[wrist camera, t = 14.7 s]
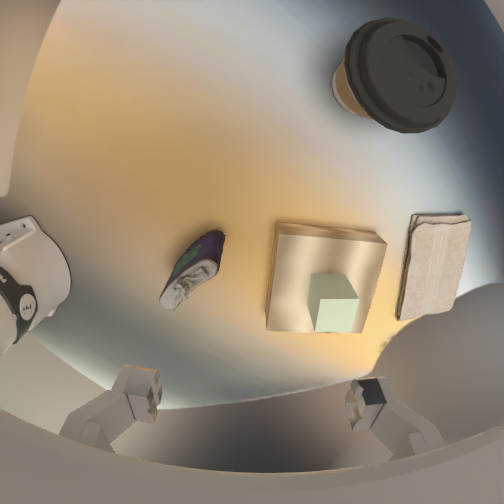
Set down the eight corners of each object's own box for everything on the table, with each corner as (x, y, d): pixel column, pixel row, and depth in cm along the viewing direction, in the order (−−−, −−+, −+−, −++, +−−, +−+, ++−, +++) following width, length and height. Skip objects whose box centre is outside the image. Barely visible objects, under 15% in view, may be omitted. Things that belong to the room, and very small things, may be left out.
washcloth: (464, 209, 38) (476, 215, 35) (447, 305, 45) (455, 315, 42) (405, 212, 39) (415, 218, 36) (392, 315, 46) (399, 326, 43)
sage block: (306, 304, 39) (314, 332, 33) (311, 273, 37) (320, 299, 31) (339, 304, 39) (351, 331, 33) (345, 274, 37) (359, 298, 31)
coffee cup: (411, 88, 31) (481, 78, 18) (367, 148, 35) (427, 162, 21) (346, 32, 29) (394, -11, 15) (297, 92, 32) (325, 69, 19)
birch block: (265, 310, 45) (266, 330, 40) (276, 221, 39) (279, 233, 35) (352, 314, 45) (361, 333, 41) (373, 230, 40) (387, 243, 35)
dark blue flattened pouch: (183, 279, 42) (165, 323, 33) (169, 265, 42) (146, 306, 32) (230, 238, 40) (222, 276, 30) (214, 223, 39) (202, 256, 29)
